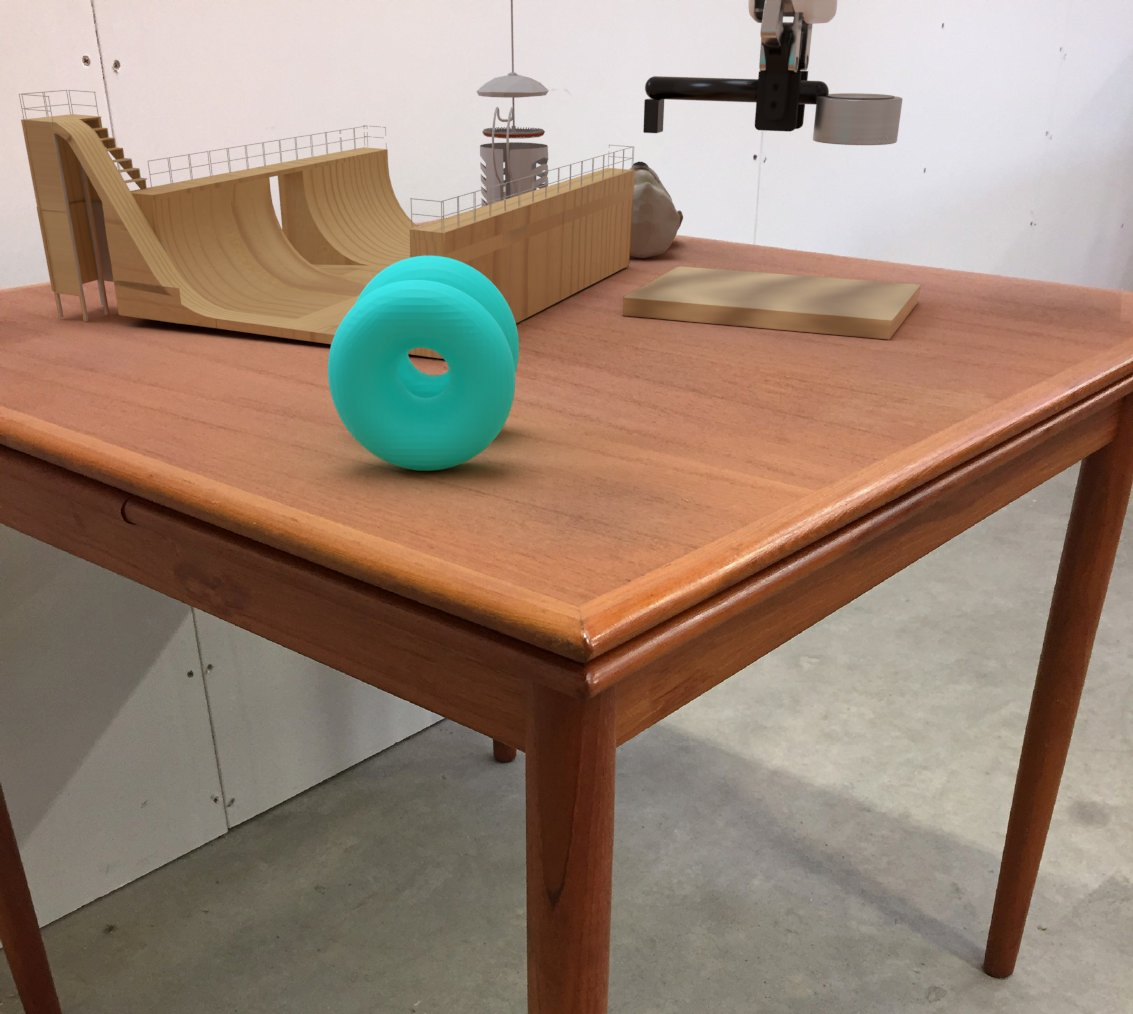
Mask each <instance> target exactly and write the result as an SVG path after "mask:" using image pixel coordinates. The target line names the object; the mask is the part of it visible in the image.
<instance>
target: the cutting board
mask: <svg viewBox="0 0 1133 1014" xmlns="http://www.w3.org/2000/svg"><path fill="white" fill-rule="evenodd" d="M921 286H922V285H921V284H915V283H904V282H892V281H891V282H890V281H878V280H877V281H876V280H866V279H865V280H864V279H863V280H862V279H851V278H839V277H838V278H837V277H824V276H813V275H799V274H798V275H797V274H786V273H785V274H784V273H773V272H758V271H748V270H747V271H746V270H734V269H733V270H732V269H721V268H720V269H719V268H706V267H692V266H681V265H680V266H675V267H674V268H672V269H671V270H669V271H667V272H665V273H663V274H662V275H660V276H658V277H656V278H654V279H653V280H651V281H648V283H646V284H644V285H642V286H640V287H638V288H637V289H635V290H633V291H631V292H629V293H628V294H626V295H624V296H622V316H624V317H634V318H635V317H637V318H644V319H645V318H646V319H657V320H666V321H677V322H687V323H688V322H690V323H699V324H700V323H701V324H711V325H722V326H735V327H745V328H757V329H767V330H778V331H787V332H799V333H800V332H801V333H810V334H820V335H832V336H843V337H854V338H867V339H875V340H876V339H877V340H887V341H888V340H890V339H891V338H892V337H893V335H894V334H896V332H897V330H898V329H899V328H900V326H901V325H902V324H903V322H904V321H905V320H906V319H907V317H908V316H909V315H910V313H911V312H912V311H913V310H914V308H915V307H916V306H917V304H919V300H920V293H921Z"/></svg>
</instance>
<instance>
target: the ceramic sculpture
mask: <svg viewBox="0 0 1133 1014" xmlns="http://www.w3.org/2000/svg"><path fill="white" fill-rule="evenodd" d="M631 168H632V169H631ZM628 170H635V180H634V191H633V208H632V226H631V245H630V257H634V258H636V259H637V258H638V259H648V258H650V257H654V256H659V255H662V254H664V253H665V252H666V251H668V250H669V248H670V247H671V245H672V243H673V242H674V241H675V238H676V237H677V234H678V231H679V230H680V227H681V225H682V223H683V220H684V214H683V212H682V211H681V210H677V209H676V206H675V204H674V202H673V199H672V197H671V195H670V193H669V192H668V189H666V187H665V186H664V184H663V183H662V181H661V180H660V178H659V174H657V172H655V170H654V169H652V168H651V167H650V166H649V165H648V163H646V162H644V161H636V162H633V163H632V164H631V167H630V168H628Z"/></svg>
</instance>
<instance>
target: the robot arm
mask: <svg viewBox="0 0 1133 1014" xmlns="http://www.w3.org/2000/svg"><path fill="white" fill-rule="evenodd" d="M837 8H838V0H748V13H749V16H750V17H751V18H752V20H754V21H755V22H756V23H757V24H761V25H760V38H761V39H760V48H759V49H760V50H759V63H758V65H759V67H758V68H759V71H758V76H757V79H758V88H757V101H756V102H755V114H754V128H755V130H757V131H765V132H793V131H795V130H800V129H801V128H802V127H803V125H804V120H805V108H806V104H799V94H800V83H801V80H802V81H809V80H808V78H809V70H808V69H809V63H810V53H811V44H812V32H813V25H815V24H816V25H817V24H828V23H830V22H831V21H832V20H833V19H834V18H835V16H836V14H837ZM784 18H793V20H792V22H788V21H787V22H786V21H784Z"/></svg>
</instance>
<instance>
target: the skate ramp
mask: <svg viewBox="0 0 1133 1014" xmlns="http://www.w3.org/2000/svg"><path fill="white" fill-rule="evenodd" d="M54 92H57V90H47V91H36V92H23V93H18V97H19V102H20V108H21V113H22V118H23V119H20V122H21V127H22V133H23V138H24V143H25V149H26V155H27V159H28V166H29V170H30V177H31V182H32V187H33V192H34V198H35V203H36V212H37V217H38V222H39V228H40V233H41V238H42V239H41V240H42V244H43V251H44V255H45V260H46V261H45V262H46V265H47V266H46V267H47V271H48V277H49V282H50V287H51V292H53V294H54V299H55V304H56V310H57V316H58V318H61V319H62V318H64V311H63V305H62V301H61V300H62V299H61V295H66V296H74V297H78V298H79V303H80V308H81V314H82V320H83V322H89V315H88V310H87V304H86V303H87V302H86V298H85V297H86V296H85V292H84V291H85V290H84V288H83V286H84V285H85V284H87V283H91V282H96V281H97V287H98V293H99V299H100V305H101V306H102V307H103V313H104V315H106V316H109V315H110V309H109V303H108V297H107V290H106V284H105V282H110V283H111V282H112V283H113V285H114V292H115V299H116V306H117V311H118V315H119V316H125V317H129V318H138V319H144V320H152V321H160V322H165V323H166V322H167V323H173V324H181V325H189V326H190V325H191V326H197V327H205V328H211V329H219V330H227V331H235V332H240V333H241V332H242V333H249V334H256V335H261V336H262V335H263V336H268V337H269V336H270V337H277V338H283V339H284V338H285V339H292V340H298V341H306V342H313V343H320V344H328V345H331V344H332V341H333V338H334V336H335V333H336V331H337V329H338V327H339V325H340V323H341V322H342V320H343V318H344V317H345V316H346V314H347V313H348V312H349V311H350V309H351V308H352V307H353V306H354V305H355V303H356V301H357V299H358V297H359V296H360V294H361V292H362V291H363V290H364V288H365V287H366V286H367V284H368V283H369V282H370V281H371V280H372V279H373V278H374V277H375V276H376V275H377V274H378V273H380V272H381V271H382V270H384V269H385V268H387V267H388V266H390V265H392V264H394V263H396V262H399V261H401V260H404V259H408V258H411V257H417V256H441V257H447V258H451V259H454V260H457V261H460V262H462V263H465V264H467V265H469V266H471V267H473V268H474V269H476V270H477V271H479V272H480V273H482V274H483V275H484V276H485V277H486V278H488V279H489V280H490V281H491V282H492V283H493V284H494V285H495V286H496V288H497V289H498V290H499V291H500V292H501V294H502V295H503V297H504V298H505V300H506V302H507V303H508V305H509V307H510V309H511V312H512V314H513V317H514V320H515V323H516V324H518V323H520V322H521V321H524V320H525V319H527V318H529V317H532V316H534V315H535V314H537V313H540V312H541V311H543V310H545V309H548V308H549V307H552V306H553V305H555V304H556V303H559V302H561V301H562V300H565V299H567V298H569V297H570V296H573V295H575V294H576V293H578V292H580V291H582V290H584V289H586V288H588V287H590V286H592V285H593V284H596V283H597V282H600V281H601V280H602V281H603V279H606V278H607V277H609V276H611V275H614V274H615V273H617V272H619V271H621V270H623V269H625V268H630V259H631V256H630V245H631V226H632V208H633V191H634V180H635V170H629V168H627V169H626V168H625V167H624V165H625V162H626V161H629V160H631V162H632V163H635V162H634V160H635V159H634V158H635V150H634V149H633V148H634V146H631V145H630V146H629V145H623V147H625V148H621V149H619V150H615V151H612V152H608V153H606V154H602V155H598V156H594V157H591V158H587V159H584V160H580V161H576V162H573V163H570V164H567V165H563V166H559V167H556V168H553V169H552V168H551V169H548V171H545V170H544V171H545V172H546V176H545V185H542V186H545V187H544V188H541V189H539V188H538V187H536V188H537V190H534V189H535V188H534V175H537V174H534V175H531V176H532V189H529V190H532V191H531V192H528V193H525V194H522V195H519V185H518V193H516V194H518V196H515V197H512V198H509V199H506V197H509V196H506V183H509V182H506V183H503V184H504V197H503V198H504V200H502V201H499V202H496V203H493V204H491V202H493V201H496V200H493V201H491V188H492V187H495V186H492V187H489V202H487V201H486V202H487V203H489V205H486V206H483V207H482V205H483V204H482V203H480V204H478V205H476V202H477V201H476V200H477V198H476V193H477V192H481V189H478V190H475V191H471V192H468V193H464V194H461V195H457V196H453V197H450V198H446V199H443V200H433V199H423V198H413V197H410V198H409V200H410V217H409V216H408V215H407V214H406V212H405V211H404V209H403V207H402V206H401V204H400V203H399V200H398V199H397V196H396V193H395V191H394V187H393V185H392V181H391V176H390V169H389V153H388V148H387V144H385V148H377V147H368V146H367V147H366V146H364V147H363V146H362V147H358V148H356V147H357V146H356V145H357V144H356V140H357V139H358V140H359V139H363V142H364V145H369V138H371V136H368V133H366V135H365V133H363V136H362V137H356V130H355V129H358V128H360V126H355V127H351V128H349V127H348V128H344V129H338V130H337V129H336V132H339V133H342V131H347V130H352V129H353V137H354V138H350V139H349V141H352V140H353V143H354V144H353V146H354V148H351V149H347V150H343V142H346V141H348V139H345V140H344V139H342V138H339V141H333V142H326V144H325V143H321V144H316V145H313V143H312V140H313V136H315V135H321V134H324V136H325V141H328V133H333V132H335V130H331V131H326V132H325V131H324V132H318V133H311V134H306V135H300V136H293V137H287V138H281V139H275V140H269V141H263V142H255V143H250V144H243V145H238V146H231V147H225V148H218V149H213V150H206V151H200V152H193V153H187V154H181V155H175V156H168V157H163V158H157V159H156V158H155V159H150V160H148V161H147V167H148V173H149V182H150V186H147V180H148V178H146V177H141V170H140V168H139V167H134V166H133V160H132V158H130V157H125V152H124V147H118V146H116V138H115V137H111V136H109V135H110V134H109V130H108V129H109V128H108V127H103V123H102V116H101V115H100V116H99V109H98V103H97V96H96V95H97V94H96V91H93V93H94V99H95V105H94V108H95V107H96V112H97V113H96V114H97V115H87V114H75V113H74V110H73V106H80V104H77V103H72V98H71V93H70V92H80V93H82V92H83V93H92V91H89V90H77V89H76V90H75V89H60V90H58V92H66V97H67V103H63V104H53V105H51V101H50V96H49V95H46V93H54ZM39 94H42V95H39ZM24 96H29V97H30V96H32V97H42V98H43V104H44V106H43V105H42V106H32V107H25V101H24ZM46 99H47V100H48V103H47V100H46ZM59 106H68V110H69V114H60V115H53V113H52V107H59ZM82 106H84V107H93V105H90V104H81V107H82ZM48 107H49V109H50V110H49V109H48ZM37 108H38V109H37ZM39 108H44V109H39ZM36 109H37V111H38V112H39V111H41V112H45V116H43V117H42V116H41V117H32V118H27V113H26V111H27V110H28V111H36ZM49 112H50V115H49ZM24 115H25V116H24ZM365 127H366V128H367V125H364V124H363V125H362V126H361V128H365ZM370 127H372V128H380V126H377V125H370ZM383 128H384V132H385V133H384V135H387V127H386V126H383ZM308 136H309V139H310V141H309V142H310V143H311V145H310V146H309V145H308V146H305V147H299V148H298V144H297V143H298V141H297V140H295V141H294V148H292V149H287V150H282V144H281V142H280V141H284V140H291V139H297V138H303V137H308ZM374 138H376V139H383V136H382V137H381V136H374ZM366 139H367V140H366ZM366 141H367V144H366ZM271 142H278V147H279V151H275V152H269V153H266V152H265V150H263V151H262V154H259V155H253V156H248V154H247V152H248V146H253V145H258V144H261V146H262V149H264V148H265V144H266V143H271ZM336 143H339V147H340V151H337V152H331V153H329V147H328V145H330V144H336ZM323 145H324V146H325V151H326V153H325V154H320V155H316V156H315V155H313V153H314V147H318V146H323ZM610 146H613V147H621V145H620V144H619V145H618V144H616V145H615V144H608V147H610ZM240 147H244V154H245V155H246V156H245V157H241V158H236V159H235V158H234V159H230V156H229V155H230V149H234V148H240ZM626 147H627V148H626ZM307 148H310V152H311V153H310V154H311V156H310V157H305V158H299V156H298V154H299V153H296V154H295V159H293V160H288V161H283V158H282V153H284V152H289V151H297V150H300V149H301V150H302V149H307ZM631 148H632V149H631ZM627 149H631V150H632V153H631V157H629V158H628V157H625V150H627ZM222 150H226V156H227V158H228V159H227V160H223V161H217V162H212V159H211V157H210V156H211V152H216V151H222ZM621 151H622V156H618V158H619V159H620V158H621V159H622V160H621V161H617V162H615V158H616V155H615V153H617V152H621ZM203 153H208V154H207V158H208V159H207V161H208V162H209V163H207V164H201V165H196V166H192V163H191V162H192V161H191V160H192V159H190V158H191V156H192V155H197V154H198V155H199V154H203ZM278 153H279V161H280V162H278V163H272V164H267V163H266V161H264V162H263V165H261V166H256V167H250V166H249V164H248V163H249V158H255V157H256V158H257V157H260V156H261V157H262V158H263V160H265V158H266V156H267V155H272V154H278ZM610 154H611V155H610ZM607 155H608V157H607V158H608V160H607V165H605V157H606V156H607ZM111 156H112V157H113V159H112V157H111ZM184 156H187V158H188V165H189V166H188V167H184V168H183V167H182V168H178V169H172V164H170V163H171V159H173V158H178V157H179V158H180V157H184ZM599 157H602V166H601V167H598V168H595V159H596V158H599ZM610 158H612V163H610V164H609V162H610ZM243 159H245V160H246V161H245V162H246V164H245V165H247V166H246V169H240V170H235V171H232V168H231V166H230V164H231V161H232V162H233V161H237V160H238V161H239V160H243ZM160 160H167V166H168V170H167V171H161V172H155V173H151V171H150V164H149V162H153V161H160ZM590 160H592V161H591V162H592V163H591V170H589V171H584V170H583V169H584V168H583V167H584V162H586V161H590ZM116 163H118V164H119V166H120V167H121V168H122V169H118V167H117V165H116ZM220 163H227V165H228V167H229V169H228V172H225V173H219V174H215V175H214V174H212V173H213V167H212V165H215V164H220ZM579 163H580V164H581V165H580V173H579V174H575V175H572V166H573V165H575V164H579ZM619 163H622V167H621V168H616V167H615V165H616V164H619ZM204 166H208V169H209V171H210V172H209V175H208V176H202V177H198V178H194V177H193V175H192V174H193V169H192V168H198V167H199V168H200V167H204ZM567 166H568V167H569V176H568V177H565V178H561V179H560V169H562V168H565V167H567ZM610 166H612V167H610ZM630 168H631V167H630ZM185 169H186V170H188V169H189V174H190V175H189V176H190V177H191V178H190V179H187V180H186V179H185V180H181V181H175V182H174V180H173V173H172V172H175V171H181V170H185ZM631 169H632V168H631ZM554 170H557V180H555V181H552V182H548V184H547V177H548V175H547V172H548V173H549V172H551V171H554ZM544 171H542V172H541V173H544ZM583 171H584V172H583ZM121 173H126V174H127V176H129V177H130V178H131V179H126V180H125V179H124V177H123V176H122V174H121ZM164 173H169V180H170V183H165V184H160V185H155V186H154V185H153V184H152V179H151V176H152V175H158V174H159V175H160V174H164ZM541 173H538V174H541ZM273 177H277V185H278V186H277V187H278V195H279V207H280V208H279V209H280V219H281V224H280V221H279V219H278V217H277V215H276V210H275V207H274V203H273V197H272V191H271V190H272V189H271V180H270V178H273ZM527 177H530V176H527ZM527 177H524V178H527ZM573 177H574V178H573ZM520 179H523V178H520ZM517 180H519V179H517ZM513 181H516V180H513ZM513 181H510V182H513ZM129 183H130V184H131V183H135V185H136V186H137V187H138V189H133V190H131V189H130V187H129V186H128V184H129ZM499 185H502V184H499ZM499 185H496V186H499ZM547 185H548V186H547ZM542 186H539V187H542ZM486 189H488V188H486V187H484V189H482V190H486ZM529 190H526V191H529ZM523 192H525V191H523ZM520 193H522V192H520ZM471 194H474V206H471V207H468V208H465V209H462V210H460V197H464V196H468V195H471ZM516 194H513V195H516ZM510 196H512V195H510ZM503 198H500V199H503ZM453 199H456V208H457V209H456V211H455V212H451V213H448V214H445V203H444V202H446V201H450V200H453ZM412 200H417V201H425V202H426V201H427V202H435V203H436V202H437V203H440V211H441V212H440V214H441V215H429V214H422V213H421V214H420V213H413V205H412ZM497 200H499V199H497ZM484 204H486V203H484ZM469 209H470V210H469ZM466 210H467V211H466ZM463 211H464V212H463ZM460 212H461V213H460ZM453 214H454V215H453ZM413 215H414V216H424V217H433V218H440V219H438V220H435V221H431V222H428V223H425V224H422V225H419V226H418V224H416V223H415V222H414V221H413ZM450 215H451V216H450ZM447 216H448V217H447ZM408 355H413V356H420V357H427V358H434V359H435V358H436V359H442V360H444V358H443V357H442V356H441V355H440V354H438V353H437V352H435V351H434V350H431V349H428V348H415V349H412V350H410V351H408Z"/></svg>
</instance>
